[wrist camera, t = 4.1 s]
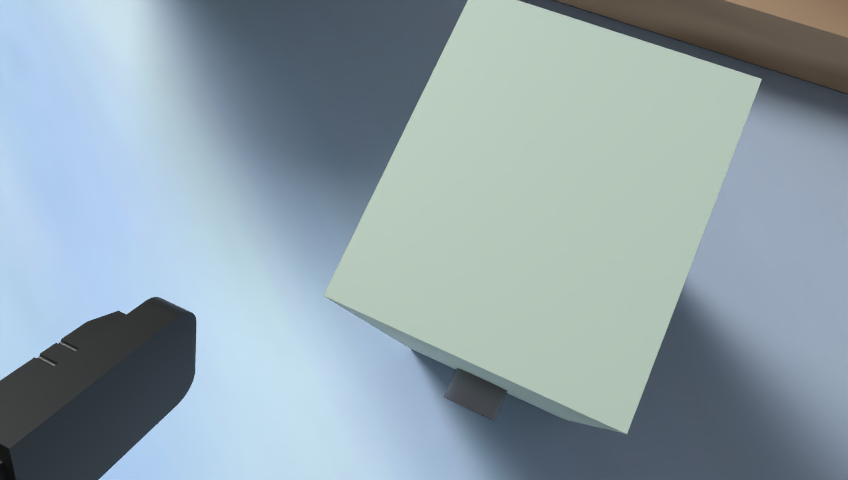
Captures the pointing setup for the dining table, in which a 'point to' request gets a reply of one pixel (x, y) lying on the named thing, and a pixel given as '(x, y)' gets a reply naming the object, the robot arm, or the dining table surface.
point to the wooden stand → (749, 31)
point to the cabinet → (545, 210)
